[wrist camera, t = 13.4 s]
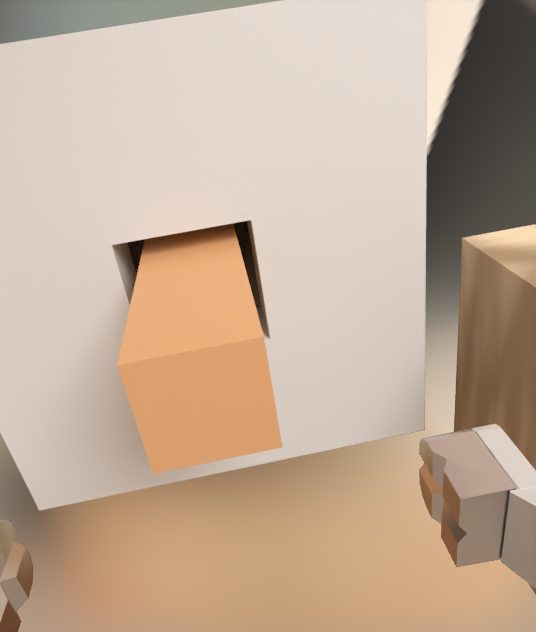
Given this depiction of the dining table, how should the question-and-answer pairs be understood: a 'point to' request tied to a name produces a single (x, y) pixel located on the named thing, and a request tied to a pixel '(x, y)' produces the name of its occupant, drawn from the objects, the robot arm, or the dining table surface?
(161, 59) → the socket plate
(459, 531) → the robot arm
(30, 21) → the dining table surface
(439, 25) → the dining table surface
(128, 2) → the dining table surface
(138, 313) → the peg
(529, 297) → the notched wooden cube
